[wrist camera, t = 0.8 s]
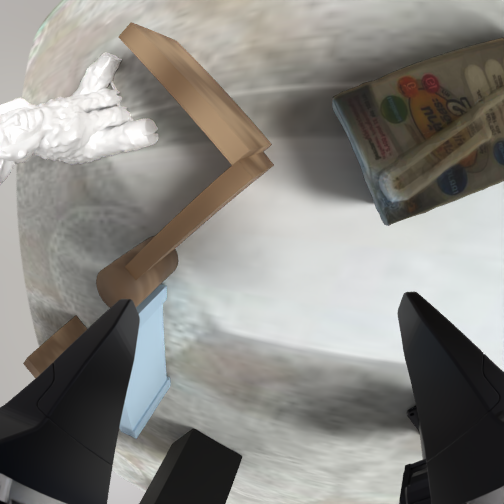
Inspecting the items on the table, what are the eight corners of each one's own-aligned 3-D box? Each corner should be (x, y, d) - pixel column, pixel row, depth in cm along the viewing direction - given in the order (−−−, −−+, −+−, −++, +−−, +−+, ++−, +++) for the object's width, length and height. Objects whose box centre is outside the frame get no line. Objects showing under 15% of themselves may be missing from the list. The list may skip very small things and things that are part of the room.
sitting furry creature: (167, 138, 22) (45, 160, 11) (99, 192, 26) (-8, 238, 15) (119, 49, 20) (1, 32, 9) (60, 110, 23) (-46, 126, 13)
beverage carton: (326, 102, 19) (323, 90, 13) (527, 39, 12) (572, 24, 6) (373, 207, 21) (387, 238, 15) (561, 132, 14) (610, 140, 8)
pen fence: (295, 174, 21) (270, 204, 13) (68, 362, 38) (31, 399, 30) (176, 41, 19) (99, 11, 11) (12, 289, 36) (-30, 319, 28)
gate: (149, 280, 27) (93, 331, 20) (166, 285, 27) (113, 340, 19) (156, 380, 32) (121, 431, 25) (170, 385, 32) (136, 438, 25)
